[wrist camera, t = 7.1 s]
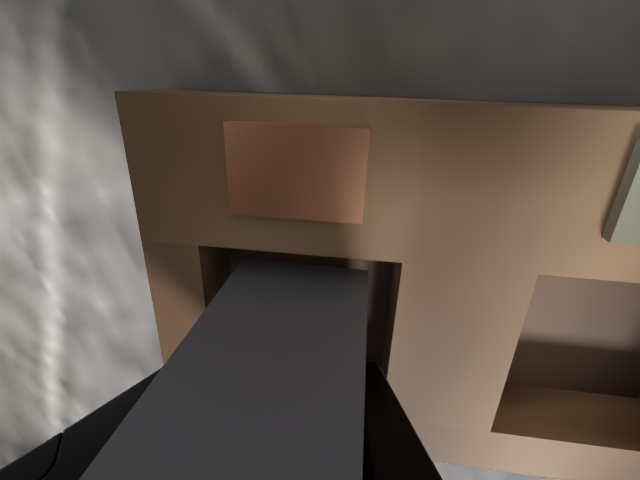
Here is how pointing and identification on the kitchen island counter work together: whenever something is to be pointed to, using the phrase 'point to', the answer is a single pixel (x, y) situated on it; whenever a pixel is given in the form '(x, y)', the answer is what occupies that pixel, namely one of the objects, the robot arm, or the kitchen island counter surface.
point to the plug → (256, 385)
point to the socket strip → (423, 251)
